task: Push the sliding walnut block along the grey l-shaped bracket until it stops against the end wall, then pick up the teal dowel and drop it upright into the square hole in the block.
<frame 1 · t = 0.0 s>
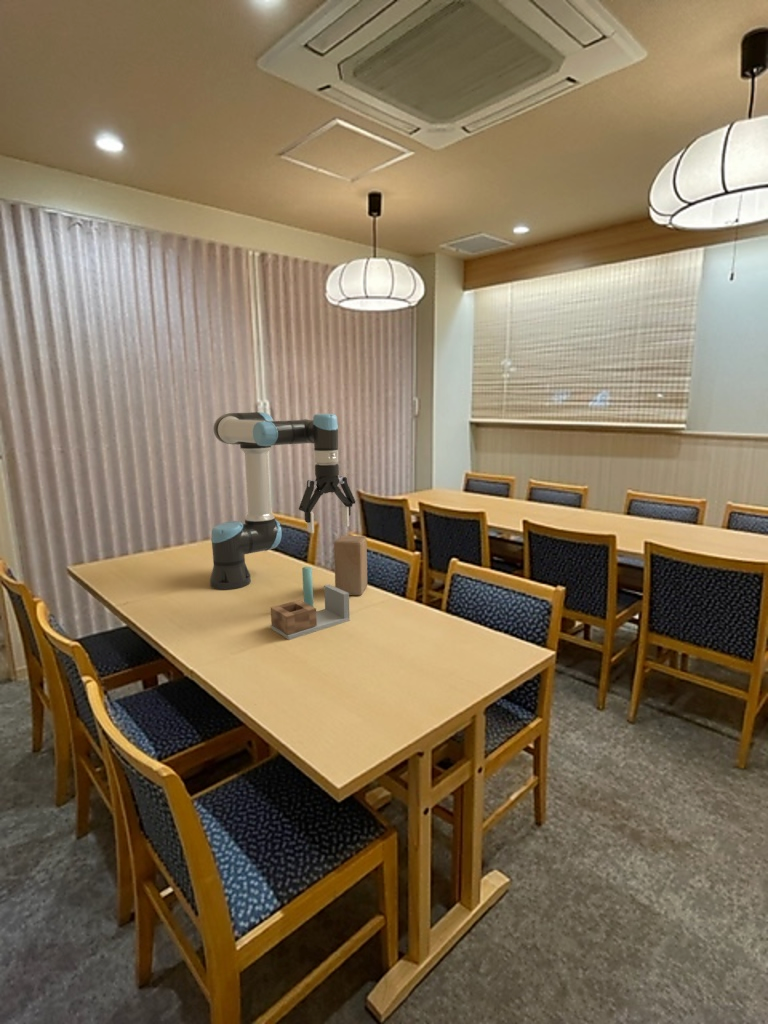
hand: (328, 529, 177), 28 cm above the table, fingers open, 13 cm apart
teal dowel: (308, 607, 185), on the table
block: (351, 591, 202), on the table
grey l-shaped bracket: (310, 624, 172), on the table
walnut block: (293, 616, 167), point 4 cm above the table, slide at 0.0 cm
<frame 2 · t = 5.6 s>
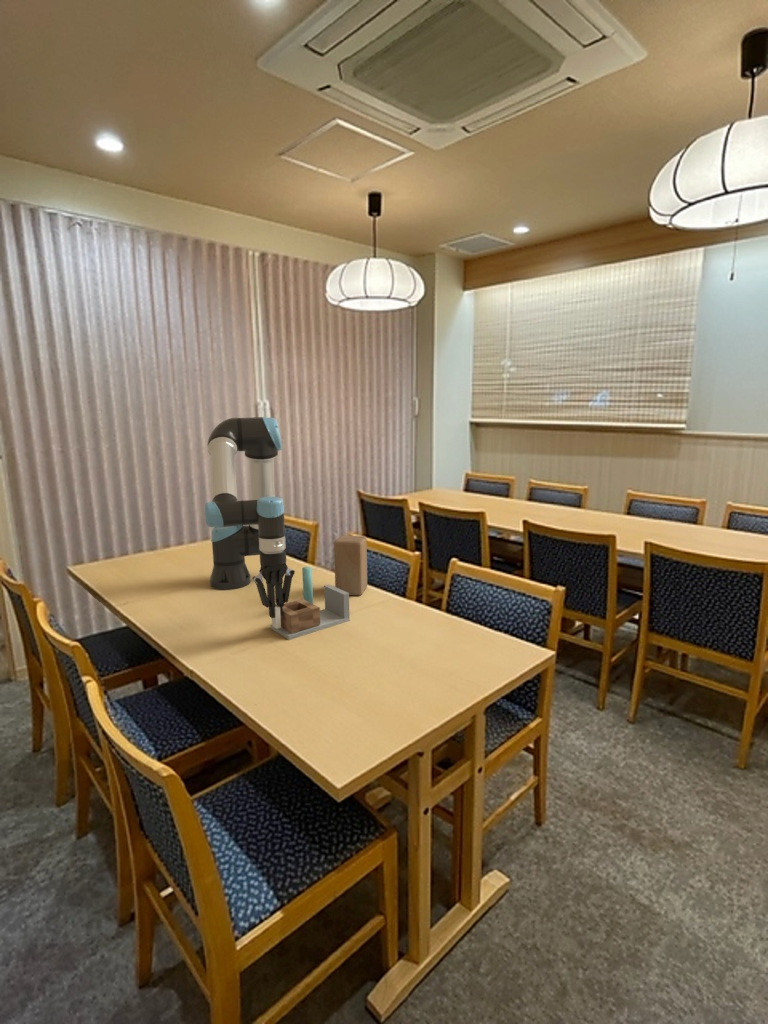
hand: (276, 626, 164), 3 cm above the table, fingers closed
walnut block: (297, 615, 168), point 4 cm above the table, slide at 1.3 cm, touching gripper
everything else where it was.
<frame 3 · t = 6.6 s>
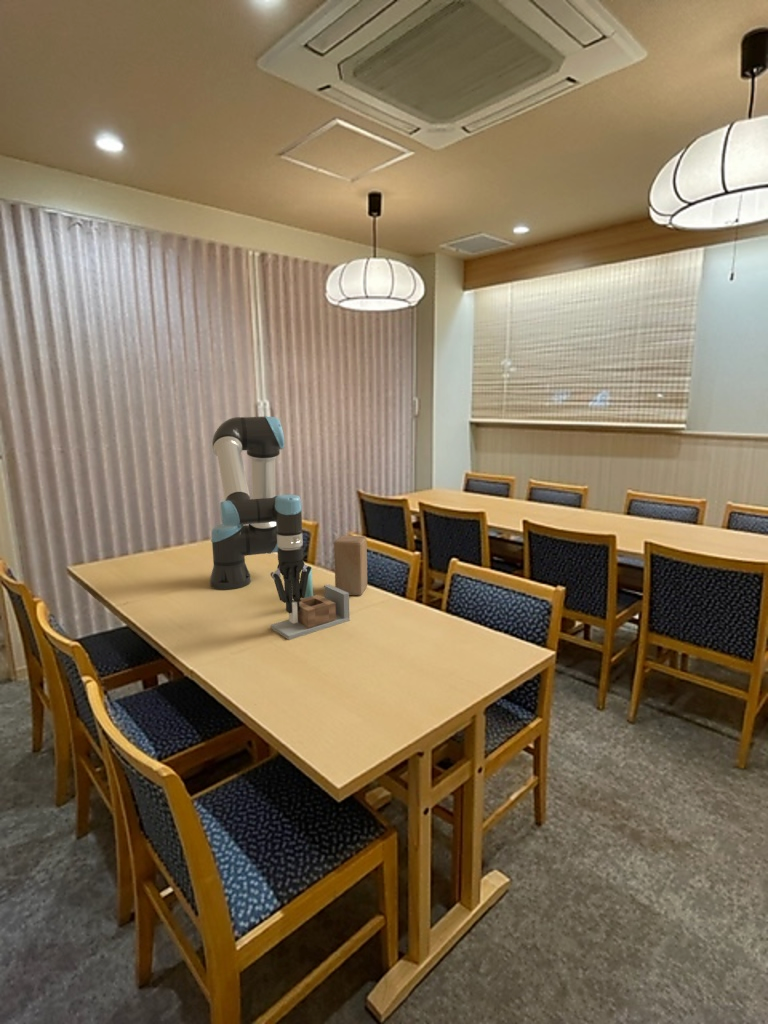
hand: (293, 621, 167), 3 cm above the table, fingers closed
walnut block: (313, 610, 171), point 4 cm above the table, slide at 7.1 cm, touching gripper
everything else where it was.
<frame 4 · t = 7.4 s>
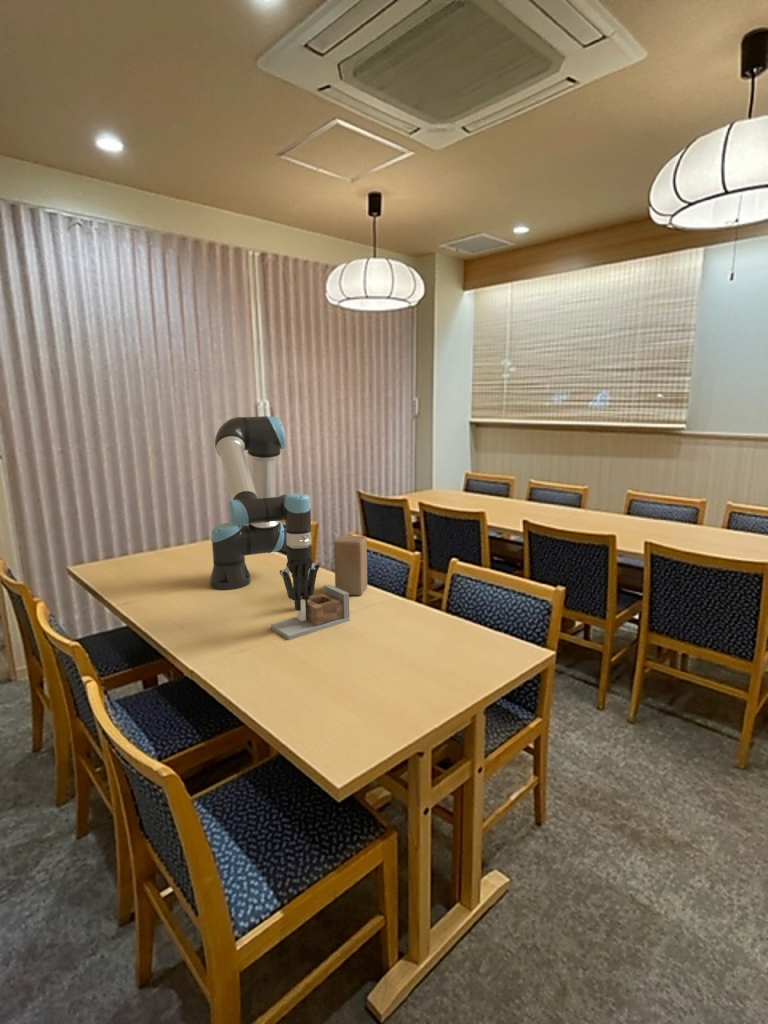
hand: (301, 619, 169), 3 cm above the table, fingers closed
walnut block: (321, 608, 173), point 4 cm above the table, slide at 10.0 cm, touching gripper
everything else where it was.
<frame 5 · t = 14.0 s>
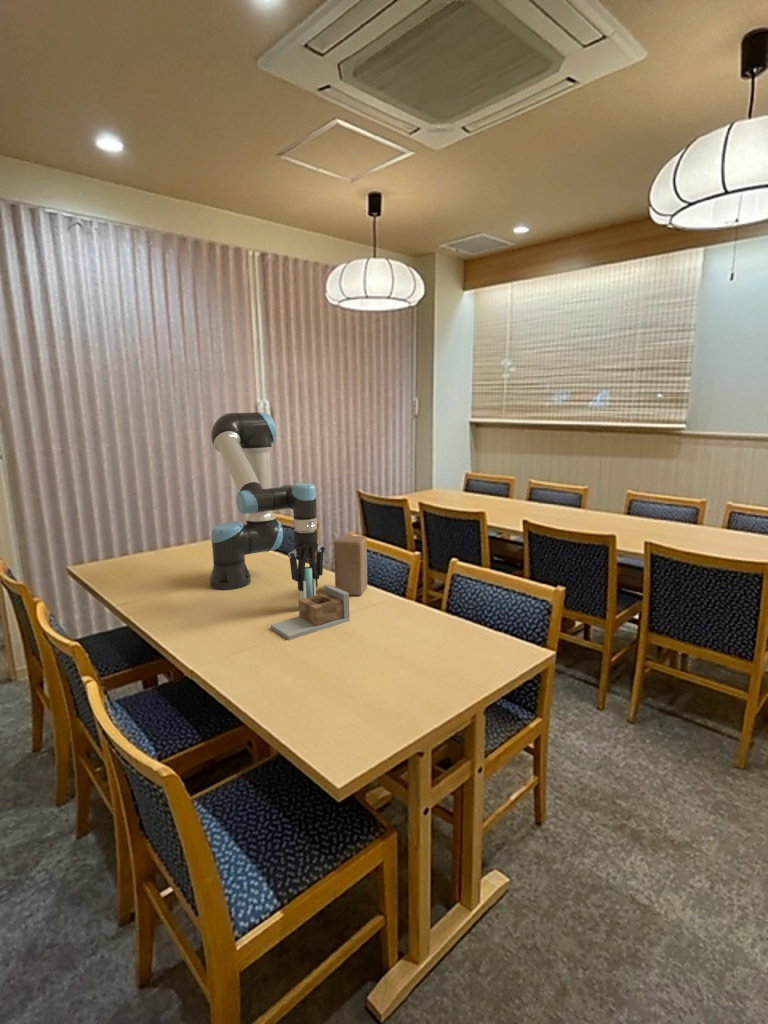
hand: (308, 597, 185), 4 cm above the table, fingers closed on teal dowel, 3 cm apart
teal dowel: (308, 607, 185), on the table, touching gripper
walnut block: (320, 608, 173), point 4 cm above the table, slide at 9.9 cm
everything else where it was.
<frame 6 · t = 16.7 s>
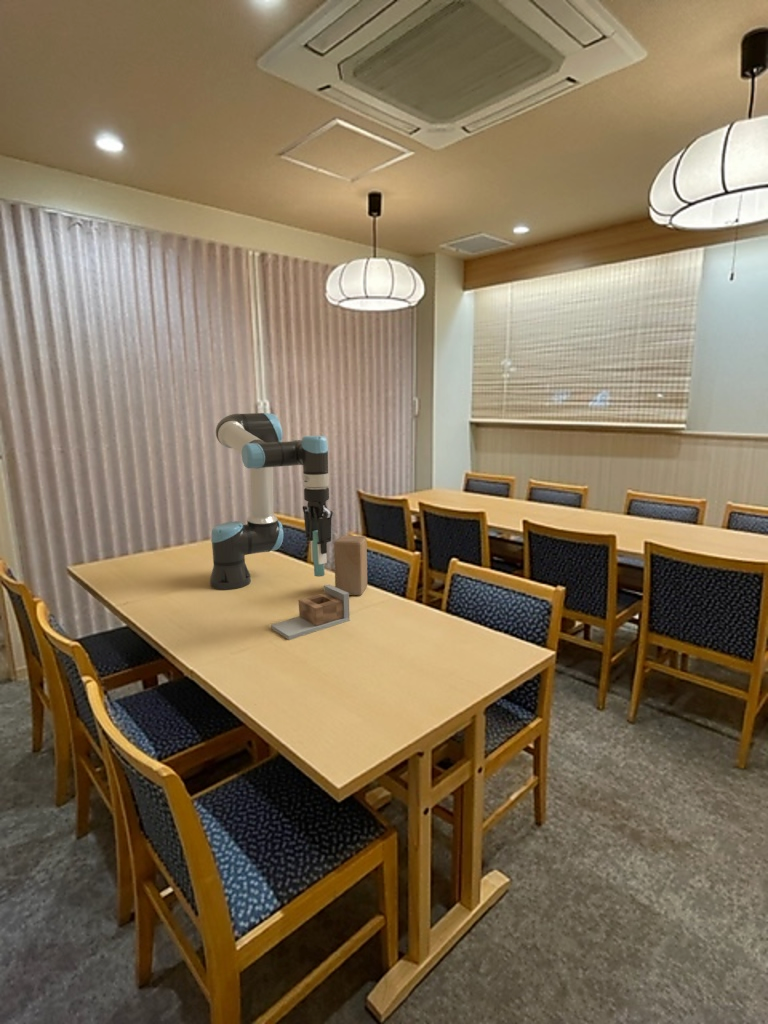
hand: (319, 561, 170), 20 cm above the table, fingers closed on teal dowel, 3 cm apart
teal dowel: (319, 575, 171), point 15 cm above the table, touching gripper
everything else where it was.
when the fingers open (8 cm above the table, at t = 19.3 s): teal dowel drops 3 cm, resting on grey l-shaped bracket.
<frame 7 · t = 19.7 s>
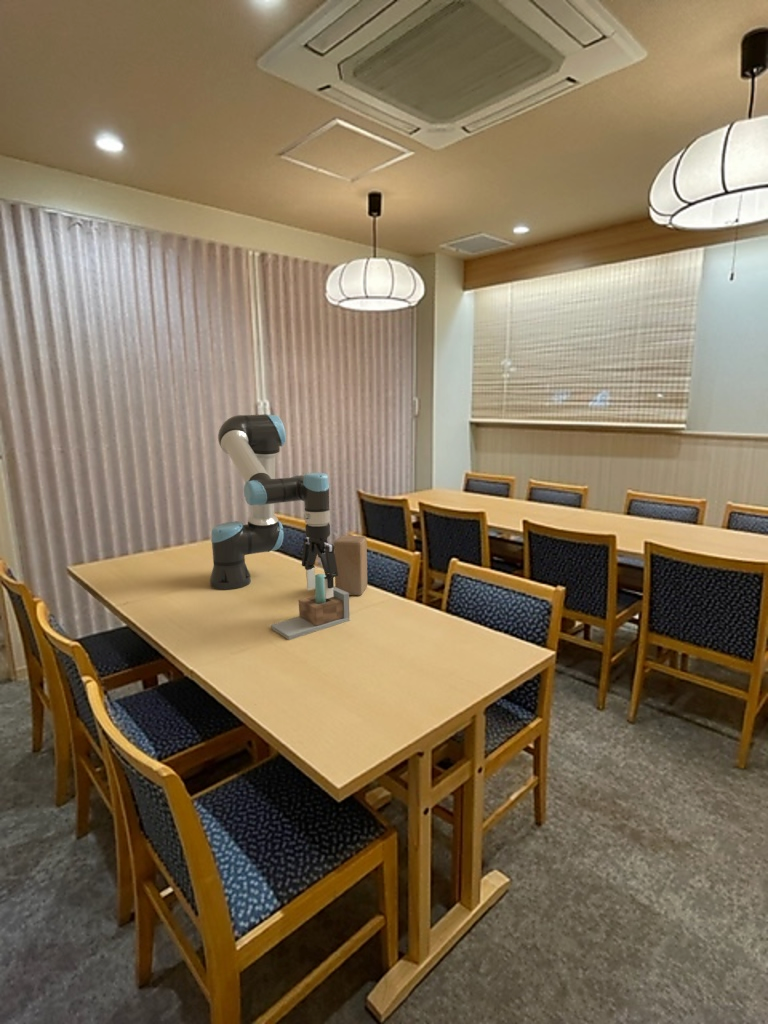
hand: (320, 593, 172), 9 cm above the table, fingers open, 9 cm apart
teal dowel: (320, 617, 174), point 1 cm above the table, touching grey l-shaped bracket
everything else where it was.
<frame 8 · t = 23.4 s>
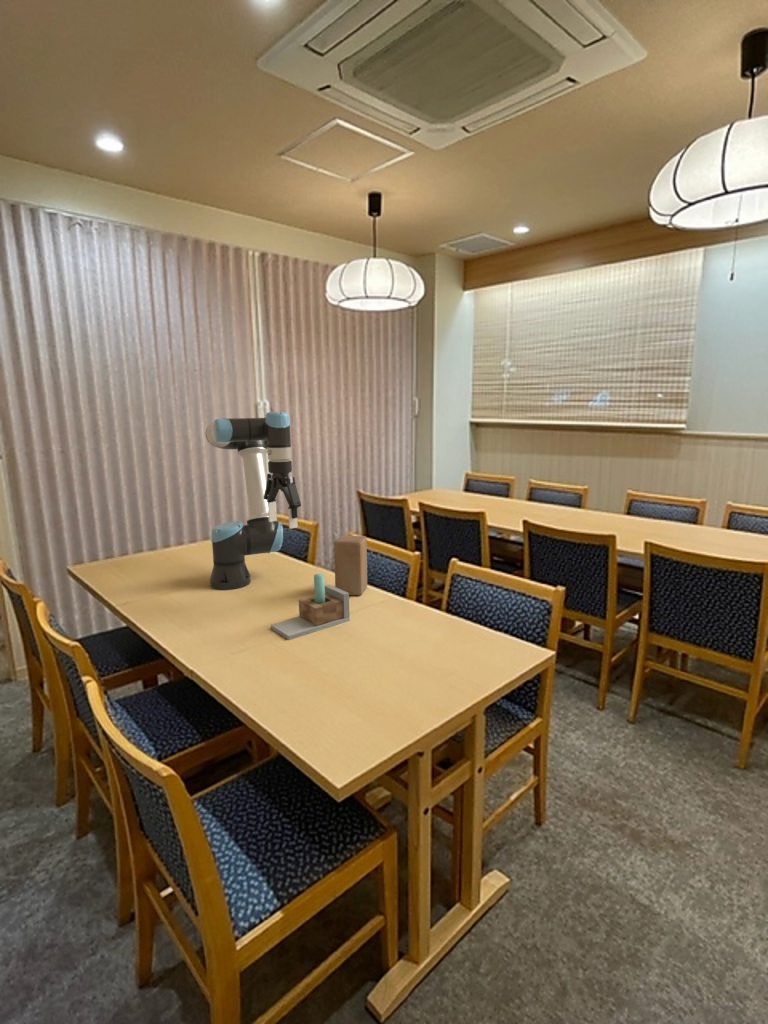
hand: (282, 524, 181), 29 cm above the table, fingers open, 13 cm apart
nothing on the table moved.
at the end: walnut block slide at 9.9 cm; teal dowel 0.2 cm off-centre on the walnut block, point 1.2 cm above the walnut block's base; teal dowel tilted 0° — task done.
